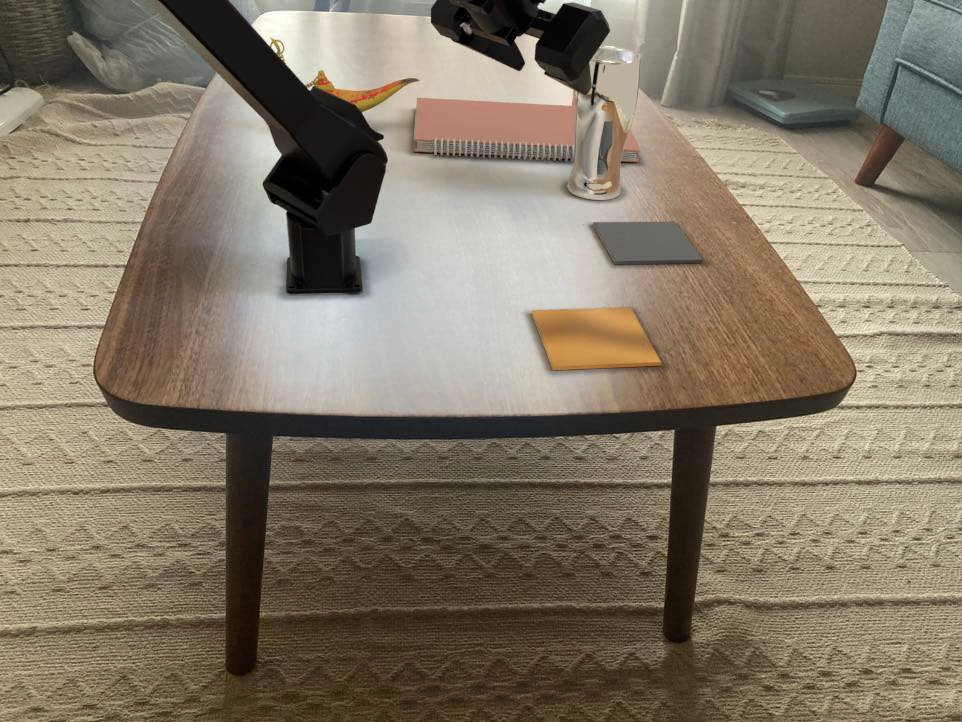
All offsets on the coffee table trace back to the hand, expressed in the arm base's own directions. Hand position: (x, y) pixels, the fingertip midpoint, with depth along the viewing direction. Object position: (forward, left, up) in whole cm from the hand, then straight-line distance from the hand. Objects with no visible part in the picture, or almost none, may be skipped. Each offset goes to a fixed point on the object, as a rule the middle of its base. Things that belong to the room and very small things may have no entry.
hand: (553, 78), depth 93 cm
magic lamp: (+22, +20, -14) cm, 33 cm away
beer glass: (+4, -7, -14) cm, 16 cm away
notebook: (+21, -2, -14) cm, 26 cm away
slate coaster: (-10, -9, -13) cm, 19 cm away
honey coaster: (-28, +1, -13) cm, 31 cm away
